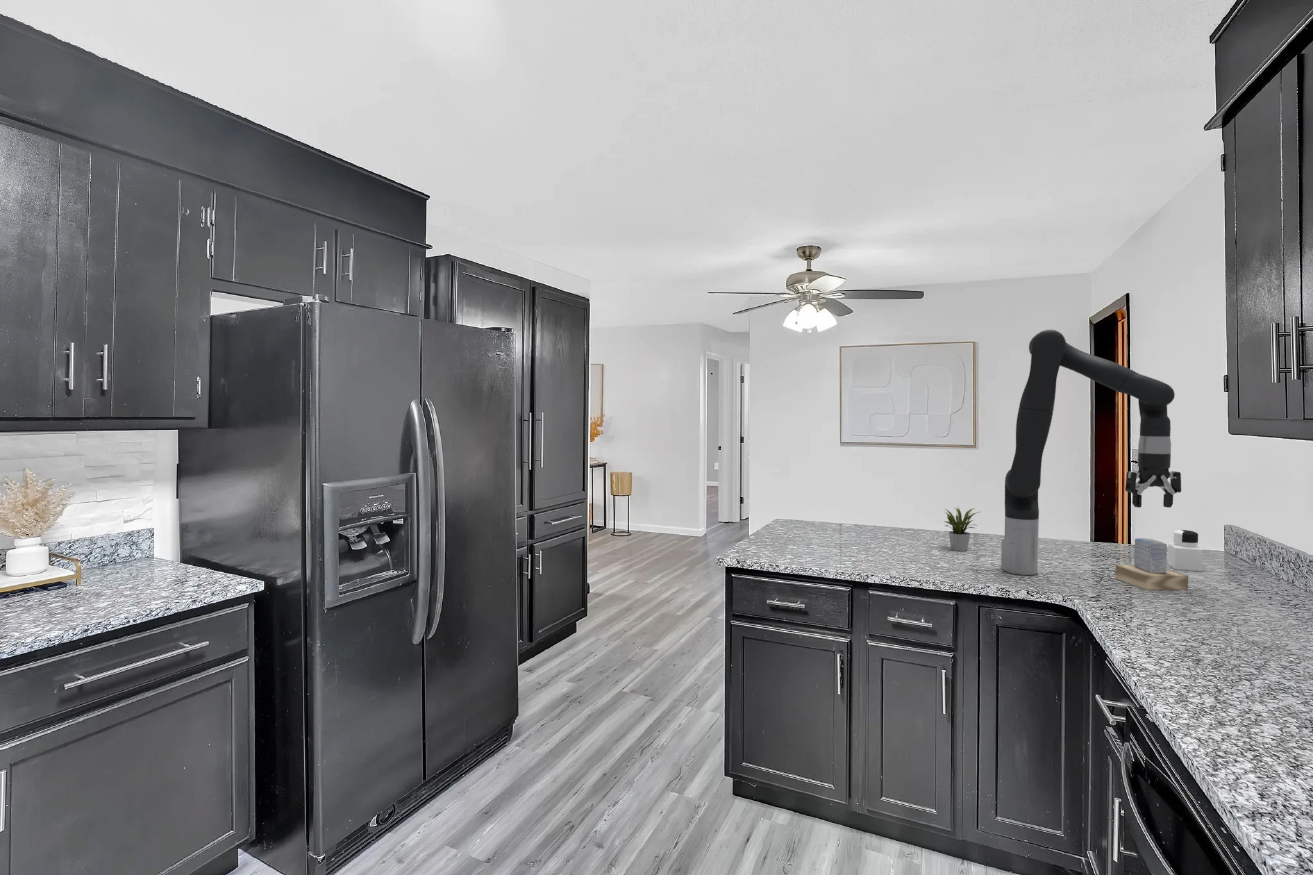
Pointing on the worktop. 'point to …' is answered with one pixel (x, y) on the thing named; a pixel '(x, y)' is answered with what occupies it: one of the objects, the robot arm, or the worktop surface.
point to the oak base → (1152, 578)
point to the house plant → (959, 530)
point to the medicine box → (1150, 555)
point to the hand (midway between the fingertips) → (1152, 507)
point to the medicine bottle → (1185, 551)
